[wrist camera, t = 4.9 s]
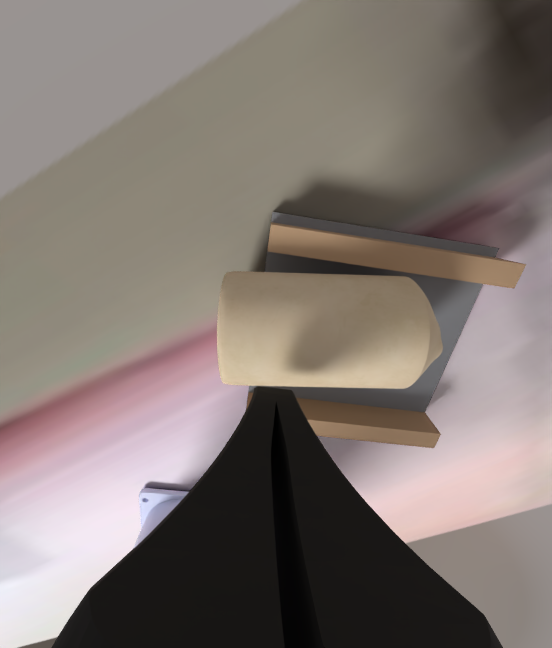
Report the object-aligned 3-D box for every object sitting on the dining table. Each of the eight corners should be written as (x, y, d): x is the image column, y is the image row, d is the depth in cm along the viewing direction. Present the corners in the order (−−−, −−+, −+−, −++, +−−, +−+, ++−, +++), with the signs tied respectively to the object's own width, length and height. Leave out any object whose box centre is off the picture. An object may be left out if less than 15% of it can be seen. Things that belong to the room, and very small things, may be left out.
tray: (411, 422, 21) (431, 453, 18) (246, 404, 20) (242, 434, 17) (488, 246, 16) (531, 254, 13) (272, 211, 15) (272, 212, 12)
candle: (227, 246, 13) (433, 253, 13) (236, 321, 17) (392, 325, 18) (208, 340, 10) (488, 347, 10) (225, 404, 14) (420, 407, 14)
